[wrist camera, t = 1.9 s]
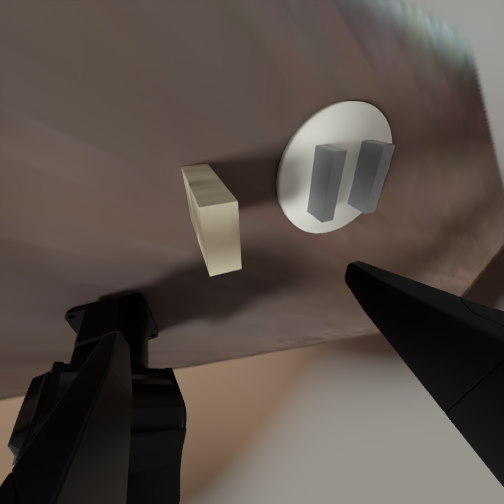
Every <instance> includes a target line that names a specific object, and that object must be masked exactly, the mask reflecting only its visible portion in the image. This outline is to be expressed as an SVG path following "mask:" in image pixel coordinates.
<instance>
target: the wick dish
mask: <svg viewBox="0 0 504 504" xmlns="http://www.w3.org/2000/svg"><path fill="white" fill-rule="evenodd" d="M394 148H395V144H392V136H391V130H390V127H389V124H388V122H387V120H386V118H385V116H384V115H383V114H382V113H381V111H379V110H378V109H377V108H376V107H374V106H372V105H370V104H368V103H365V102H359V101H340V102H335V103H332V104H329V105H327V106H325V107H323V108H321V109H319V110H318V111H316V112H315V113H313V114H312V115H311V116H310V117H308V118H307V119H306V120H305V121H304V122H303V123H302V124H301V125H300V126H299V128H298V129H297V130H296V131H295V133H294V134H293V135H292V137H291V139H290V140H289V142H288V144H287V145H286V148H285V150H284V152H283V154H282V157H281V160H280V163H279V167H278V172H277V179H276V191H277V198H278V201H279V205H280V207H281V209H282V211H283V213H284V214H285V216H286V217H287V218H288V219H289V220H290V221H291V222H292V223H293V224H294V225H296V226H297V227H298V228H300V229H302V230H304V231H307V232H310V233H325V232H330V231H333V230H336V229H338V228H341V227H343V226H344V225H346V224H348V223H349V222H351V221H352V220H354V219H355V218H356V217H357V216H358V215H360V214H361V213H362V212H363V213H364V214H366V213H370V212H375V209H376V206H377V203H378V200H379V196H380V193H381V190H382V187H383V184H384V180H385V177H386V174H387V172H388V169H389V165H390V161H391V158H392V155H393V152H394Z"/></svg>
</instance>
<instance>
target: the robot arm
mask: <svg viewBox="0 0 504 504" xmlns="http://www.w3.org/2000/svg"><path fill="white" fill-rule="evenodd" d="M345 282H346V284H347V285H348V287H349V288H350V290H351V291H352V293H353V294H354V296H355V298H356V299H357V301H358V302H359V304H360V305H361V307H362V308H363V310H364V311H365V313H366V314H367V315H368V317H369V318H370V319H371V320H372V322H373V323H374V324H375V325H376V327H377V328H378V329H379V330H380V332H381V333H382V334H383V336H384V337H385V338H386V339H387V341H388V342H389V343H390V344H391V345H392V347H393V348H394V349H395V351H396V352H397V353H398V354H399V356H400V357H401V358H402V359H403V361H404V362H405V363H406V364H407V366H408V367H409V368H410V370H411V371H412V372H413V373H414V375H415V376H416V377H417V378H418V380H419V381H420V382H421V383H422V385H423V386H424V387H425V388H426V390H427V391H428V392H429V393H430V395H431V396H432V397H433V399H434V400H435V401H436V402H437V404H438V405H439V406H440V407H441V409H442V410H443V411H444V412H445V414H446V415H447V416H448V418H449V419H450V420H451V422H452V423H453V424H454V425H455V427H456V428H457V429H458V430H459V432H460V433H461V434H462V435H463V437H464V438H465V439H466V440H467V442H468V443H469V444H470V446H471V447H472V448H473V449H474V451H475V452H476V453H477V454H478V456H479V457H480V458H481V459H482V461H483V462H484V463H485V464H486V466H487V467H488V468H489V469H490V471H491V472H492V473H493V475H494V476H495V477H496V478H497V480H498V481H499V482H500V483H501V484H502V486H503V487H504V311H501V310H498V309H495V308H491V307H488V306H485V305H482V304H479V303H477V302H474V301H471V300H468V299H465V298H462V297H459V296H458V297H457V296H456V295H454V294H451V293H448V292H445V291H442V290H440V289H437V288H434V287H431V286H428V285H425V284H423V283H420V282H417V281H414V280H411V279H408V278H406V277H403V276H400V275H397V274H394V273H392V272H389V271H386V270H383V269H380V268H377V267H375V266H372V265H369V264H366V263H363V262H360V261H355V262H351V263H349V264H348V266H347V270H346V274H345ZM137 298H140V299H137ZM72 315H73V316H72ZM65 319H66V320H67V322H68V323H69V324H70V326H71V327H72V328H73V330H74V331H75V332H76V334H77V337H76V340H75V344H74V345H75V347H74V351H73V354H72V358H71V361H70V364H64V362H54V364H53V366H52V367H51V369H50V371H49V372H47V373H45V374H43V375H40V376H38V377H35V378H33V379H32V381H31V383H30V386H29V388H28V391H27V393H26V396H25V398H24V401H23V403H22V406H21V409H20V411H19V414H18V417H17V419H16V423H15V425H14V428H13V431H12V434H11V437H10V440H9V443H8V447H9V449H10V450H11V451H12V453H13V454H14V460H13V465H14V467H13V469H12V473H10V474H9V475H8V476H7V477H6V479H5V480H4V482H3V483H2V485H1V486H0V504H179V502H180V465H181V456H182V449H183V444H184V439H185V435H186V407H185V403H184V400H183V397H182V394H181V392H180V389H179V386H178V383H177V381H176V378H175V375H174V372H173V370H172V368H165V369H158V368H148V340H150V339H153V338H156V337H157V336H158V329H157V327H156V324H155V322H154V319H153V317H152V315H151V312H150V310H149V307H148V305H147V302H146V300H145V297H144V295H143V294H140V293H137V294H133V295H129V296H125V297H120V298H116V299H112V300H108V301H104V302H100V303H96V304H92V305H88V306H84V307H79V308H75V309H71V310H68V311H67V312H66V315H65Z"/></svg>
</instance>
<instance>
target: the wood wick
mask: <svg viewBox="0 0 504 504" xmlns="http://www.w3.org/2000/svg"><path fill="white" fill-rule="evenodd" d="M181 168H182V173H183V179H184V184H185V189H186V195H187V200H188V205H189V210H190V216H191V220H192V223H193V226H194V229H195V232H196V235H197V238H198V241H199V244H200V247H201V250H202V253H203V256H204V260H205V263H206V266H207V269H208V272H209V275H210V276H214V275H218V274H222V273H226V272H231V271H235V270H239V269H242V267H241V250H240V232H239V215H238V201H237V200H236V198H235V197H234V196H233V195H232V194H231V192H230V191H229V190H228V189H227V187H226V186H225V185H224V184H223V182H222V181H221V180H220V179H219V177H218V176H217V175H216V174H215V172H214V171H213V170H212V169H211V167H210V166H209V165H208V164H199V165H190V166H181Z"/></svg>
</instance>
